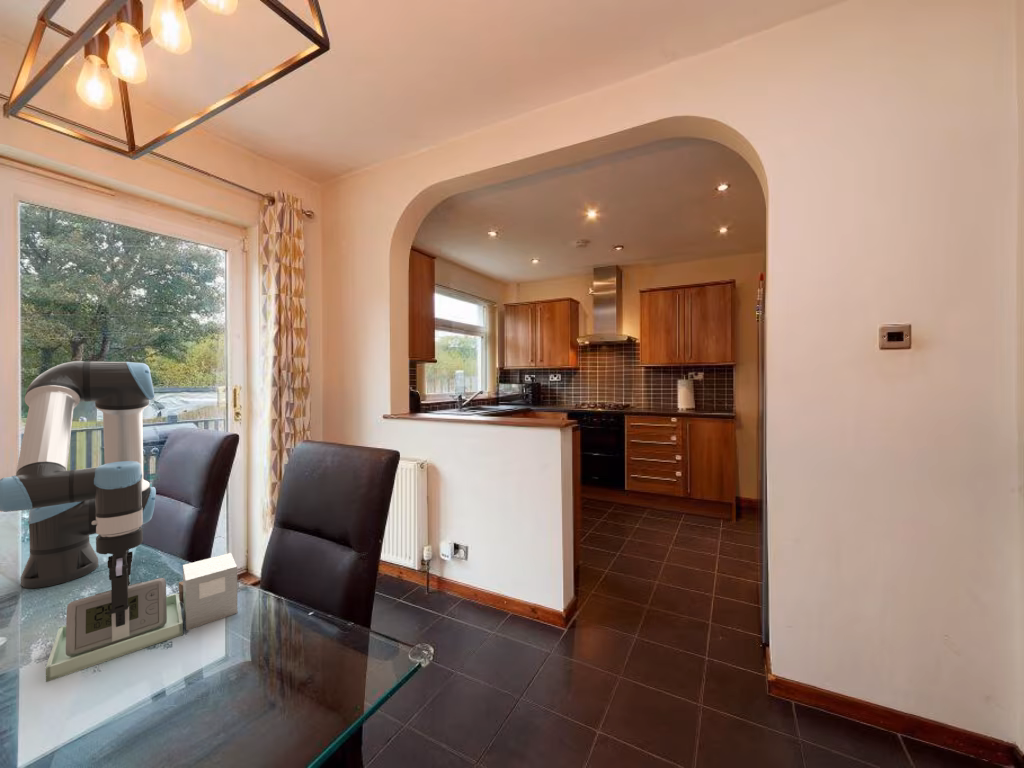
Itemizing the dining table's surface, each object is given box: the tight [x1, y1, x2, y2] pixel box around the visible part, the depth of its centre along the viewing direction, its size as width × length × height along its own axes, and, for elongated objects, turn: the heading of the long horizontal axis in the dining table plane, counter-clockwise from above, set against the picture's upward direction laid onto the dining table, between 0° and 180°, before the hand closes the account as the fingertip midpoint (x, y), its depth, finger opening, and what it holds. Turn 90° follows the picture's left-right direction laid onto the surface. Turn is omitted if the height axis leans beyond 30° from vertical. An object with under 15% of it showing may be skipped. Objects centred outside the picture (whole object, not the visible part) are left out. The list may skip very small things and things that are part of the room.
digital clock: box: [65, 577, 167, 656], centre depth 89 cm, size 16×9×11 cm, turn 122°
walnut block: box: [178, 580, 183, 604], centre depth 104 cm, size 5×5×5 cm
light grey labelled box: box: [182, 552, 239, 631], centre depth 99 cm, size 10×10×12 cm
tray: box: [44, 592, 184, 683], centre depth 89 cm, size 17×21×3 cm
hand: (121, 629), depth 89 cm, fingers closed on digital clock, 7 cm apart
